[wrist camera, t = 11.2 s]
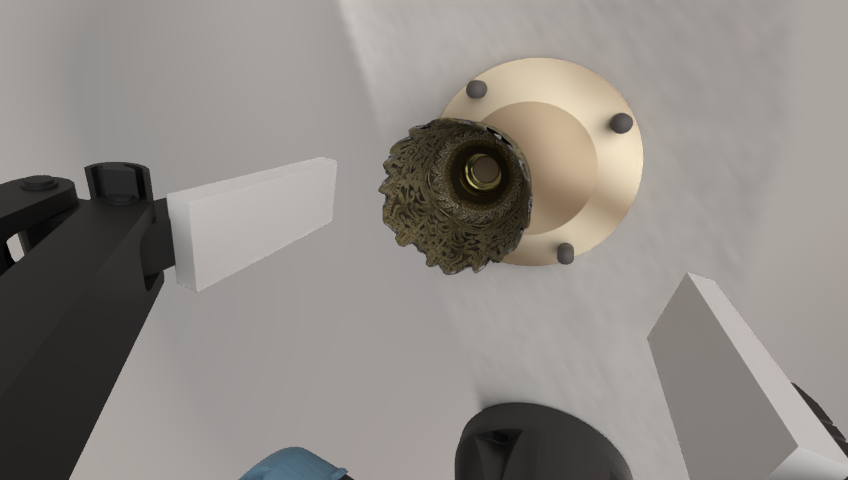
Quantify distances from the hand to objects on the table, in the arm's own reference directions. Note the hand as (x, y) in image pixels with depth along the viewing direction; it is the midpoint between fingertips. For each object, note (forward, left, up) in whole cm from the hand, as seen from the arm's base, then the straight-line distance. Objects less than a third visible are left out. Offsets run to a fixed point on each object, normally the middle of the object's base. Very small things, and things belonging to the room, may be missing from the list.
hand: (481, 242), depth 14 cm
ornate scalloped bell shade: (0, +2, -11) cm, 11 cm away
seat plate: (0, 0, -13) cm, 13 cm away
